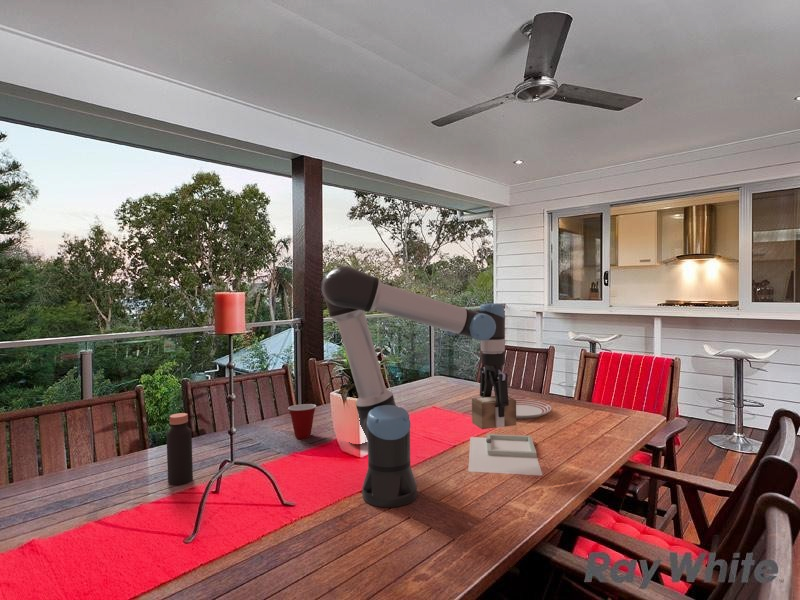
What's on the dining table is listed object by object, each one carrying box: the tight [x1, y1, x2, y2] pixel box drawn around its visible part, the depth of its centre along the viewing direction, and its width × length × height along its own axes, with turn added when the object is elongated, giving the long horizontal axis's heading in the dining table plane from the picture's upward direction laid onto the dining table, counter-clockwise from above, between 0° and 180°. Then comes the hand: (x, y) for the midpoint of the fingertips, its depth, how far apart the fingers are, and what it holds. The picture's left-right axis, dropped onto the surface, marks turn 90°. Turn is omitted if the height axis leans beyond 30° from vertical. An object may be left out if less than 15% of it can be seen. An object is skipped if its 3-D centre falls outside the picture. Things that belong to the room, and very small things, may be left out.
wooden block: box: [471, 395, 517, 430], centre depth 146 cm, size 12×7×8 cm, turn 107°
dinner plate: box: [515, 398, 553, 420], centre depth 204 cm, size 27×27×3 cm
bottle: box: [166, 412, 194, 487], centre depth 137 cm, size 7×7×20 cm
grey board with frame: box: [467, 433, 543, 476], centre depth 154 cm, size 22×32×3 cm
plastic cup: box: [287, 403, 317, 440], centre depth 176 cm, size 11×11×12 cm
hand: (493, 423), depth 146 cm, fingers closed on wooden block, 7 cm apart
